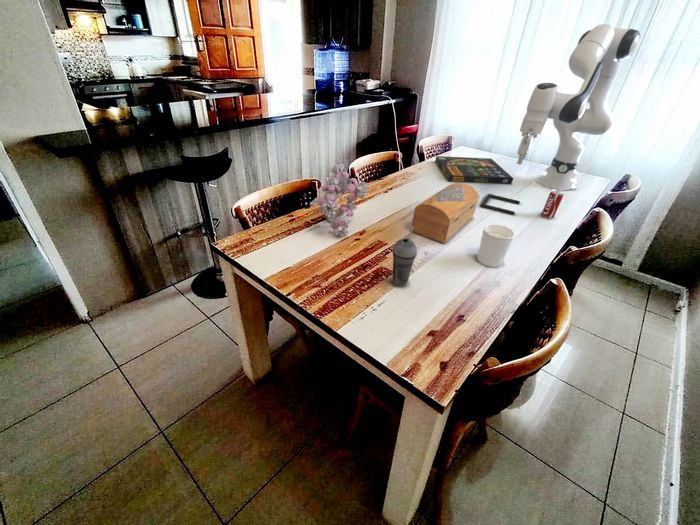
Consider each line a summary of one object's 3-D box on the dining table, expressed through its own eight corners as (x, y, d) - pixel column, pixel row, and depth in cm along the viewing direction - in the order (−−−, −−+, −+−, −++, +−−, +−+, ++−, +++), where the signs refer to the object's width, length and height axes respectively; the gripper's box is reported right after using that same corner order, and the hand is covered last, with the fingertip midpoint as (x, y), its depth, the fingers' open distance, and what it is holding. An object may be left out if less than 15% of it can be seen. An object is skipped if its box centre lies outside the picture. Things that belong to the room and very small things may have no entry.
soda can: (555, 219, 145) (566, 194, 138) (542, 218, 145) (553, 193, 139) (551, 214, 149) (562, 189, 142) (539, 213, 150) (549, 188, 143)
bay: (487, 195, 164) (488, 193, 164) (519, 203, 158) (520, 201, 158) (480, 206, 153) (480, 204, 152) (513, 215, 147) (514, 212, 146)
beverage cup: (386, 275, 106) (393, 220, 94) (408, 275, 106) (417, 220, 95) (390, 290, 100) (398, 233, 88) (413, 289, 100) (424, 233, 89)
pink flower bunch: (290, 227, 126) (311, 178, 109) (316, 200, 142) (338, 154, 125) (333, 255, 127) (361, 211, 109) (354, 226, 143) (381, 183, 125)
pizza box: (511, 184, 179) (513, 178, 177) (448, 181, 179) (449, 175, 177) (489, 164, 208) (491, 158, 206) (435, 161, 208) (436, 156, 206)
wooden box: (440, 207, 151) (446, 178, 143) (474, 218, 143) (483, 188, 135) (407, 230, 131) (412, 198, 124) (444, 244, 123) (452, 211, 115)
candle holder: (503, 256, 118) (513, 227, 111) (504, 271, 110) (515, 240, 104) (475, 250, 120) (483, 221, 114) (474, 264, 113) (483, 234, 106)
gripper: (537, 133, 126) (525, 168, 134) (543, 125, 140) (531, 157, 148) (520, 131, 128) (509, 165, 136) (527, 122, 143) (517, 154, 151)
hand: (521, 161), depth 142 cm, fingers open, 8 cm apart
